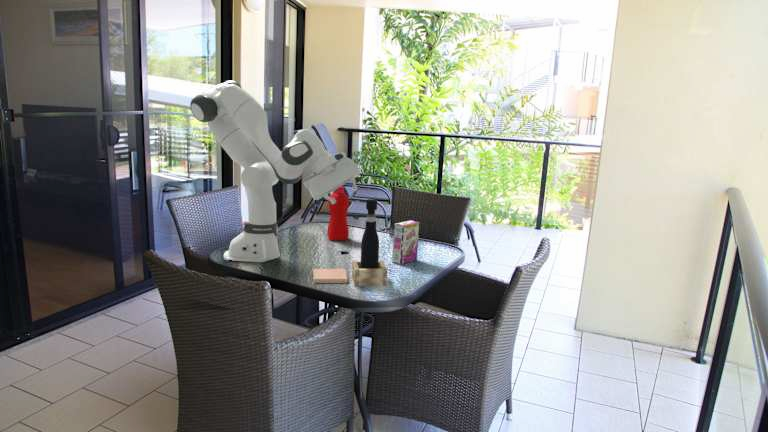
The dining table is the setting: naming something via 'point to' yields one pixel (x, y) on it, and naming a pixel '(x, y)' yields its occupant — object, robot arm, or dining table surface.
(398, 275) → the dining table surface
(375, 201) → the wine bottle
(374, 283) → the bottle collar
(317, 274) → the terracotta tile
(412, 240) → the candy bar box
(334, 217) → the water bottle
